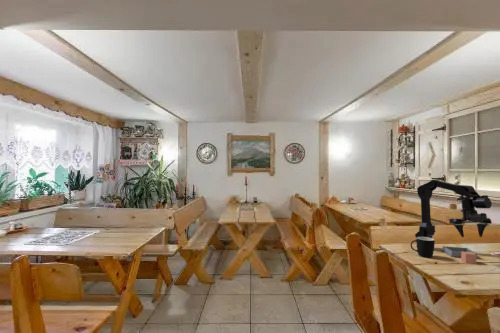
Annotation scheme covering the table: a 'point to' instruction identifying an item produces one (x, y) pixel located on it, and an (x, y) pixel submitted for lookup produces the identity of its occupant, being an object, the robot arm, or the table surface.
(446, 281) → the table surface
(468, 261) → the red block
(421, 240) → the mug
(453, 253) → the tray
